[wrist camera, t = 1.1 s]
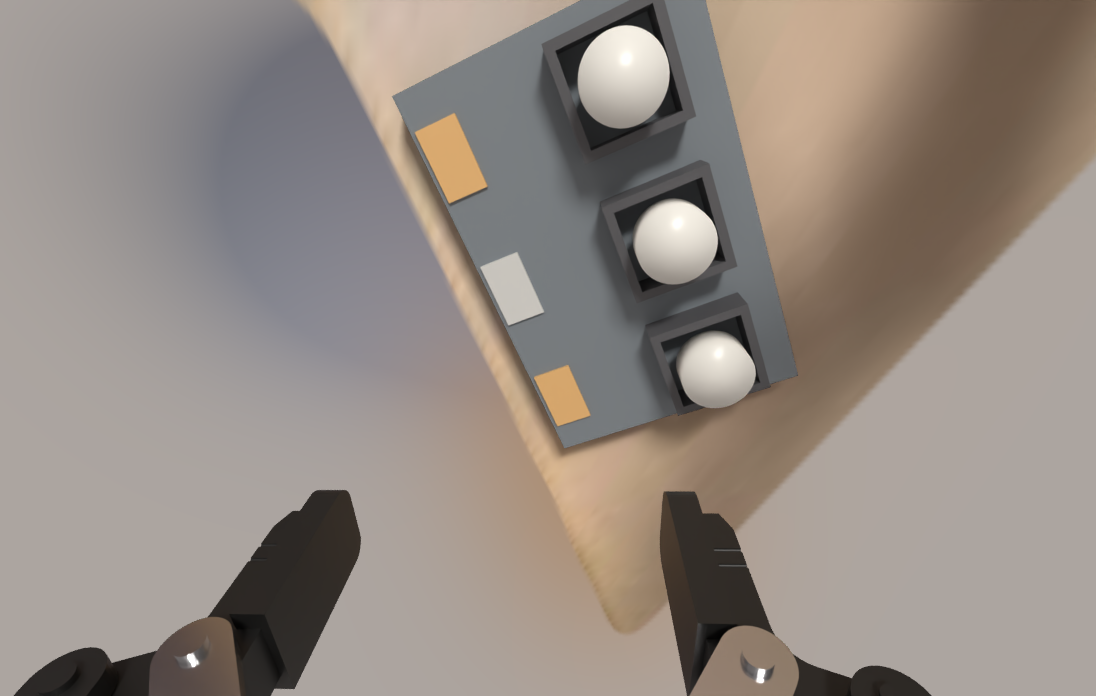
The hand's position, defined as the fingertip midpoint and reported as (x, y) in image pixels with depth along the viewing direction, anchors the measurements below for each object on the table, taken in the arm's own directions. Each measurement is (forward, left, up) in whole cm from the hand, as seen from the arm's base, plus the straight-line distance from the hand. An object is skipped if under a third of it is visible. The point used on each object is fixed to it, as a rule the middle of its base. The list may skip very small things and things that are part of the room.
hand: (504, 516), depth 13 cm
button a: (-7, -8, -18) cm, 21 cm away
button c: (-7, +8, -18) cm, 21 cm away
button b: (-7, 0, -18) cm, 19 cm away
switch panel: (-4, 0, -21) cm, 22 cm away
